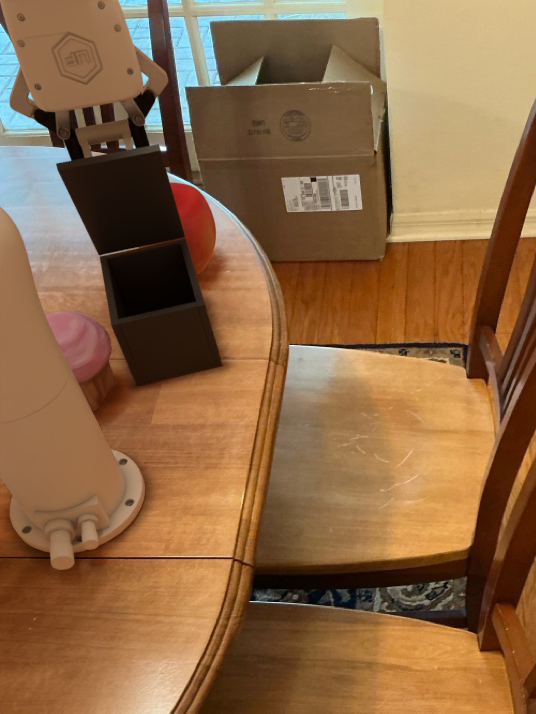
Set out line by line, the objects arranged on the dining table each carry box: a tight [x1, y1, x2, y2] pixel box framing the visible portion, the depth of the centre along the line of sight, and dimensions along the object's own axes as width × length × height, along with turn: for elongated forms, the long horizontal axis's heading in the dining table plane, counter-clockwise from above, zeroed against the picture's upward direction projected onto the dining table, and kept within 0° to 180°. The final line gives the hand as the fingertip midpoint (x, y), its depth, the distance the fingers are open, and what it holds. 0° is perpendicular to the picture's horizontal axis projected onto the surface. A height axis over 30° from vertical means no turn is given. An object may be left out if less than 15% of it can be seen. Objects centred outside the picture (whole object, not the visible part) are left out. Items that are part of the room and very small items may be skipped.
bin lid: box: [55, 118, 185, 256], centre depth 79 cm, size 13×10×6 cm
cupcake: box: [45, 310, 116, 412], centre depth 80 cm, size 9×9×10 cm
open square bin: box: [99, 238, 223, 387], centre depth 85 cm, size 13×10×8 cm
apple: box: [137, 181, 217, 276], centre depth 93 cm, size 10×10×10 cm
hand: (115, 164), depth 79 cm, fingers closed on bin lid, 5 cm apart
